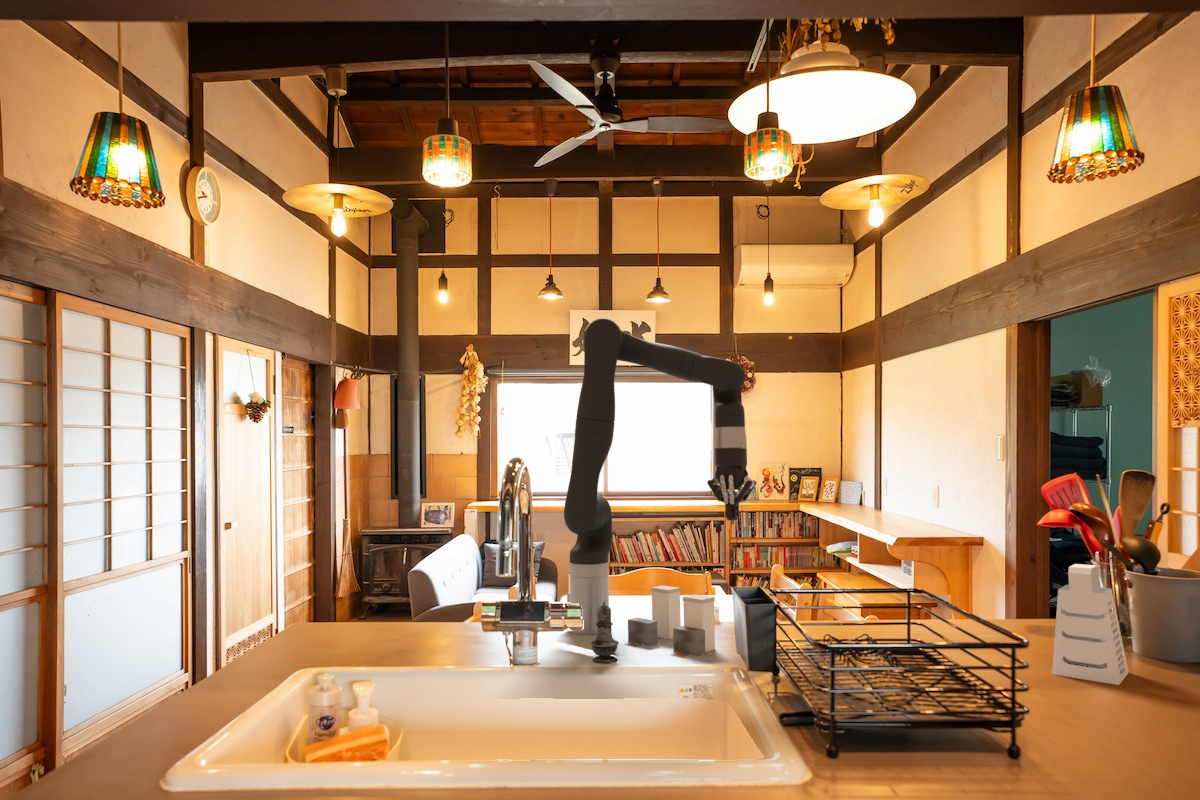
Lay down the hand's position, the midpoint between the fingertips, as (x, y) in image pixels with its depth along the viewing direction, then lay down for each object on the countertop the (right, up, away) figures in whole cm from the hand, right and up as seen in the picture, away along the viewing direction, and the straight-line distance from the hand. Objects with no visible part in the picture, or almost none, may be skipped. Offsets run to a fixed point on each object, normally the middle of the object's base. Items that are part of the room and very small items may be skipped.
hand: (732, 520), depth 175 cm
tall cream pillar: (-16, -26, -6) cm, 31 cm away
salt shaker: (-30, -26, -21) cm, 45 cm away
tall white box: (-10, -24, -18) cm, 32 cm away
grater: (+62, -24, -34) cm, 74 cm away
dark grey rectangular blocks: (-14, -26, -13) cm, 32 cm away
